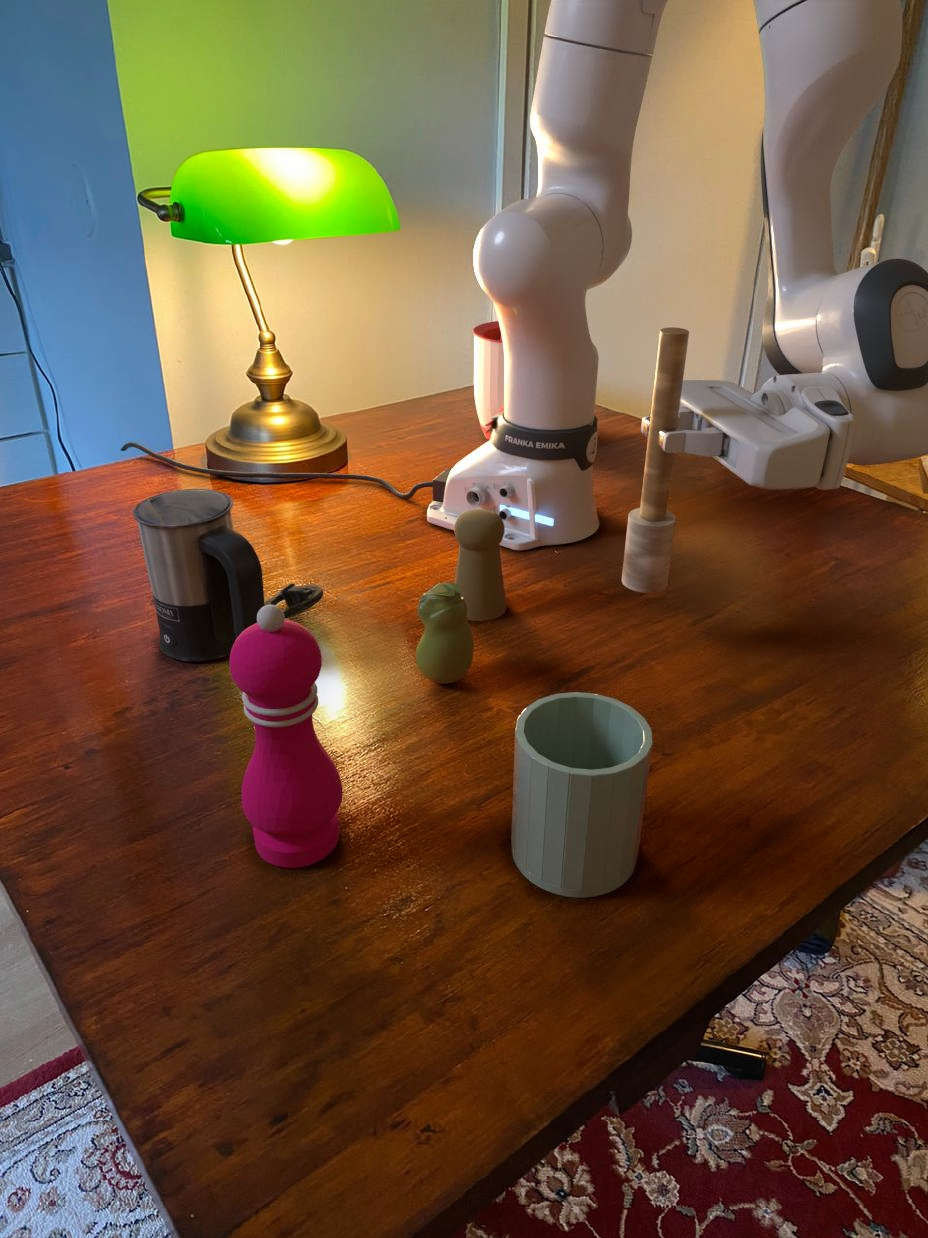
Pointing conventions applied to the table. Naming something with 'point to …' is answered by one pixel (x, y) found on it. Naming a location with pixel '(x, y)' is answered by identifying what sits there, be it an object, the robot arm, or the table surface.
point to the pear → (444, 635)
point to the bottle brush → (656, 475)
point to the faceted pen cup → (579, 792)
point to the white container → (488, 372)
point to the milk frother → (204, 574)
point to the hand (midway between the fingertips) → (653, 434)
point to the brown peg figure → (480, 564)
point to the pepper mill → (285, 743)
